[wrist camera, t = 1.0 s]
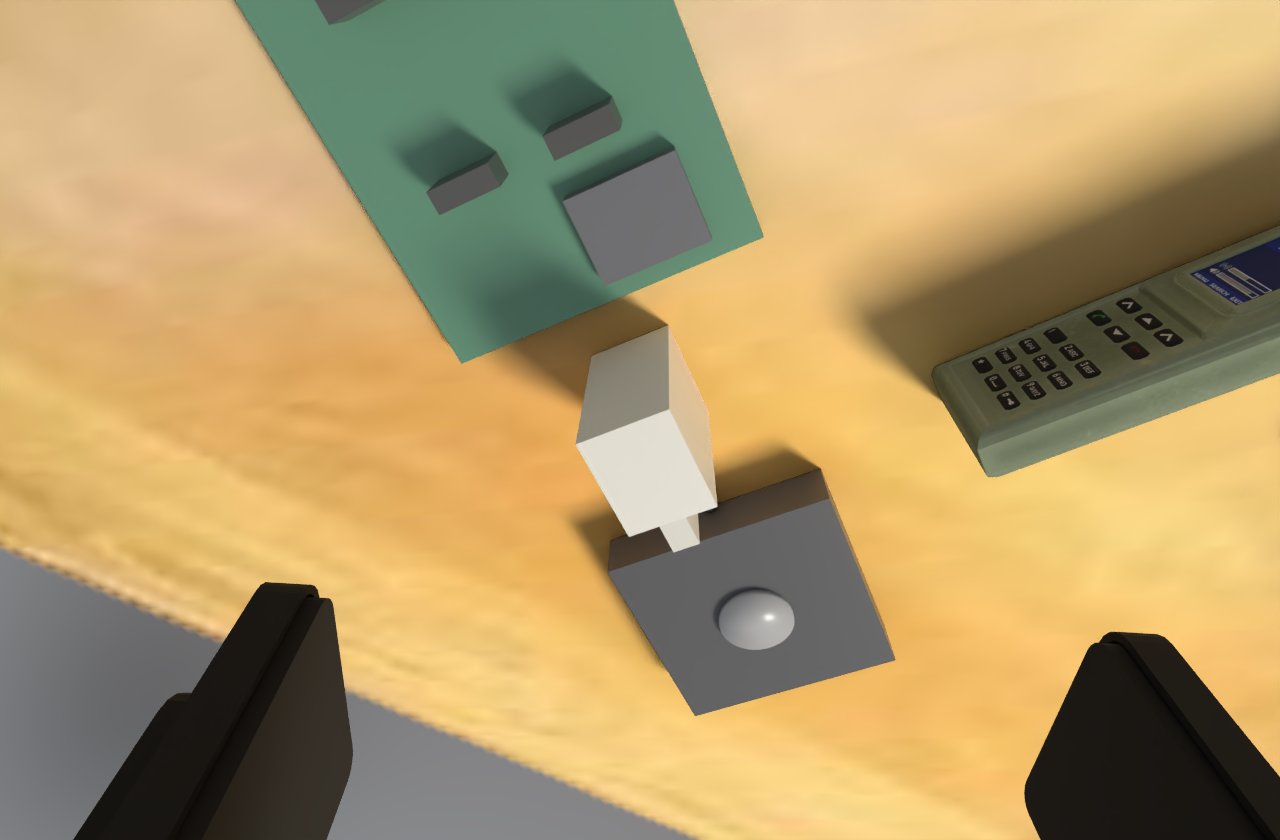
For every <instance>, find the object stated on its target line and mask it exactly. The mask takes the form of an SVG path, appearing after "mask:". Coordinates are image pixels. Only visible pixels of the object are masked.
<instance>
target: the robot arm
mask: <svg viewBox="0 0 1280 840" xmlns="http://www.w3.org/2000/svg"><path fill="white" fill-rule="evenodd" d="M352 757H353V749H352V739H351V733H350V725H349V718H348V710H347V703H346V696H345V688H344V681H343V674H342V666H341V659H340V652H339V645H338V637H337V630H336V623H335V615H334V608H333V604H332V601H331V599H329V598H319V594H318V590H317V589H316V587H315V586H313V585H304V584H287V583H270V582H265V583H263V584H262V585H260V587H259V588H258V589H257V590H256V592H255V593H254V595H253V596H252V598H251V600H250V601H249V603H248V604H247V606H246V607H245V609H244V611H243V612H242V614H241V615H240V617H239V619H238V620H237V622H236V623H235V625H234V627H233V628H232V630H231V631H230V633H229V634H228V636H227V638H226V639H225V641H224V642H223V644H222V646H221V647H220V649H219V650H218V652H217V653H216V655H215V657H214V658H213V660H212V661H211V663H210V665H209V666H208V668H207V669H206V671H205V673H204V674H203V676H202V677H201V679H200V681H199V682H198V684H197V685H196V687H195V688H194V690H193V692H192V693H177V694H176V695H174V696H173V697H171V698H170V699H168V700H167V701H166V702H165V704H164V705H163V706H162V707H161V708H160V710H159V711H158V712H157V714H156V715H155V717H154V718H153V720H152V721H151V723H150V724H149V726H148V727H147V729H146V730H145V732H144V733H143V735H142V736H141V738H140V739H139V741H138V742H137V744H136V745H135V747H134V748H133V750H132V751H131V753H130V755H129V756H128V758H127V759H126V761H125V762H124V764H123V765H122V767H121V768H120V770H119V771H118V773H117V774H116V776H115V777H114V779H113V780H112V782H111V783H110V785H109V786H108V788H107V789H106V791H105V792H104V794H103V795H102V797H101V798H100V800H99V801H98V803H97V804H96V806H95V808H94V809H93V811H92V812H91V814H90V815H89V817H88V818H87V820H86V821H85V823H84V824H83V826H82V827H81V829H80V830H79V832H78V833H77V835H76V836H75V838H74V839H73V840H326V839H327V837H328V834H329V831H330V828H331V825H332V823H333V820H334V817H335V814H336V812H337V809H338V806H339V803H340V801H341V798H342V795H343V793H344V790H345V787H346V784H347V782H348V778H349V775H350V770H351V765H352ZM1024 794H1025V803H1026V807H1027V811H1028V813H1029V816H1030V818H1031V820H1032V822H1033V824H1034V826H1035V829H1036V831H1037V833H1038V835H1039V837H1040V839H1041V840H1280V777H1279V775H1278V774H1277V773H1276V772H1275V771H1274V769H1273V768H1272V767H1271V766H1270V764H1269V763H1268V762H1267V761H1266V759H1265V758H1264V757H1263V756H1262V754H1261V753H1260V752H1259V751H1258V750H1257V748H1256V747H1255V746H1254V745H1253V743H1252V742H1251V741H1250V740H1249V738H1248V737H1247V736H1246V735H1245V734H1244V732H1243V731H1242V730H1241V729H1240V727H1239V726H1238V725H1237V724H1236V722H1235V721H1234V720H1233V719H1232V717H1231V716H1230V715H1229V714H1228V713H1227V711H1226V710H1225V709H1224V708H1223V706H1222V705H1221V704H1220V703H1219V701H1218V700H1217V699H1216V698H1215V697H1214V695H1213V694H1212V693H1211V692H1210V690H1209V689H1208V688H1207V687H1206V685H1205V684H1204V683H1203V682H1202V680H1201V679H1200V678H1199V677H1198V676H1197V674H1196V673H1195V672H1194V671H1193V669H1192V668H1191V667H1190V666H1189V664H1188V663H1187V662H1186V661H1185V660H1184V658H1183V657H1182V656H1181V655H1180V653H1179V652H1178V651H1177V650H1176V648H1175V647H1174V646H1173V645H1172V644H1171V643H1170V642H1169V641H1168V640H1167V639H1166V638H1165V637H1163V636H1160V635H1158V634H1143V633H1126V632H1109V633H1107V634H1106V635H1104V636H1103V637H1102V639H1101V640H1100V642H1099V643H1094V644H1092V645H1091V646H1090V647H1089V649H1088V650H1087V652H1086V655H1085V657H1084V659H1083V661H1082V663H1081V665H1080V667H1079V670H1078V672H1077V674H1076V676H1075V678H1074V680H1073V682H1072V685H1071V687H1070V689H1069V691H1068V693H1067V695H1066V697H1065V700H1064V702H1063V704H1062V706H1061V708H1060V710H1059V712H1058V715H1057V717H1056V719H1055V721H1054V723H1053V725H1052V727H1051V730H1050V732H1049V734H1048V736H1047V738H1046V740H1045V742H1044V745H1043V747H1042V749H1041V751H1040V753H1039V755H1038V757H1037V760H1036V762H1035V764H1034V766H1033V768H1032V770H1031V772H1030V775H1029V777H1028V779H1027V781H1026V784H1025V792H1024Z"/></svg>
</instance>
